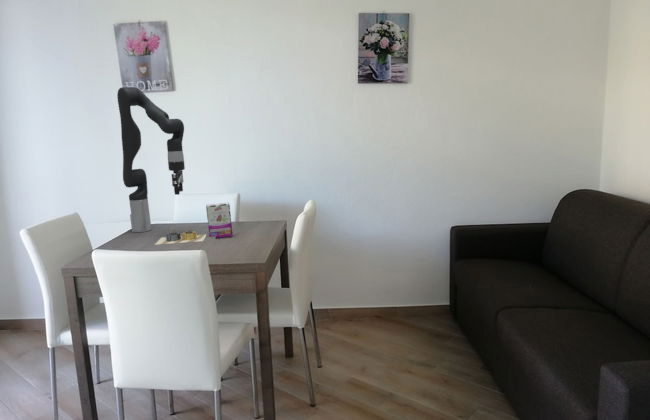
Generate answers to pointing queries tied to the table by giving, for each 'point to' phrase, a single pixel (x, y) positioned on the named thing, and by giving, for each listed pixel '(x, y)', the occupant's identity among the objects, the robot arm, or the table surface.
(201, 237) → the gear board
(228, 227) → the candy bar box
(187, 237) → the brass gear
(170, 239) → the silver gear
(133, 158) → the robot arm
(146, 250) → the table surface
